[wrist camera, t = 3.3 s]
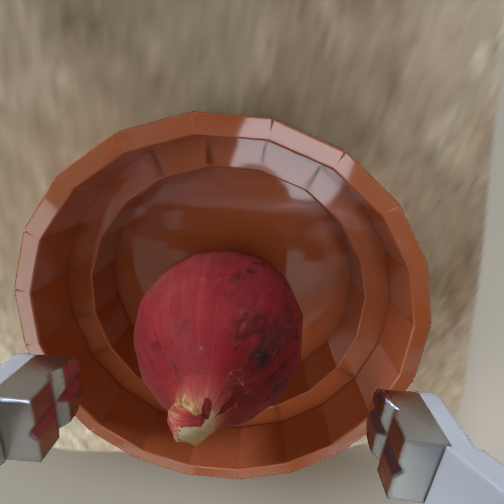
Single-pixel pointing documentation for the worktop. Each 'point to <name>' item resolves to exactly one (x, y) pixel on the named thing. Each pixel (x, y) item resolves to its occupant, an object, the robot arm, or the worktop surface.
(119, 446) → the bowl
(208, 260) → the pomegranate
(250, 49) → the worktop surface
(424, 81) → the worktop surface
